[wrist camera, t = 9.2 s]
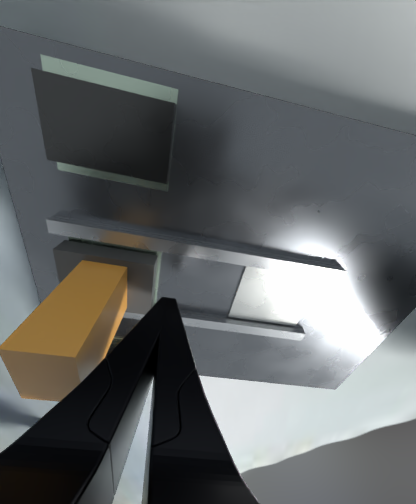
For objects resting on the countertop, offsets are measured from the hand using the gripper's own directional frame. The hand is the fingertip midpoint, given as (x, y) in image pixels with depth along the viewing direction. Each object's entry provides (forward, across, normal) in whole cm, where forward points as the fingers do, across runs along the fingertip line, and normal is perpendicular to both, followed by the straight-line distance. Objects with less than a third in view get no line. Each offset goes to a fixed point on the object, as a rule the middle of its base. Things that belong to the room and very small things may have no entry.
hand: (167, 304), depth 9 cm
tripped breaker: (+1, +3, 0) cm, 3 cm away
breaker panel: (+4, -3, 0) cm, 5 cm away
